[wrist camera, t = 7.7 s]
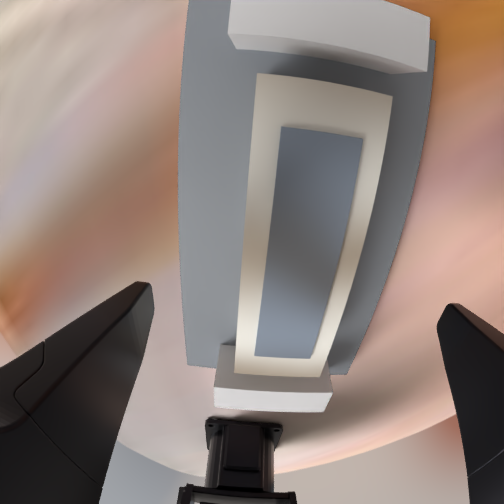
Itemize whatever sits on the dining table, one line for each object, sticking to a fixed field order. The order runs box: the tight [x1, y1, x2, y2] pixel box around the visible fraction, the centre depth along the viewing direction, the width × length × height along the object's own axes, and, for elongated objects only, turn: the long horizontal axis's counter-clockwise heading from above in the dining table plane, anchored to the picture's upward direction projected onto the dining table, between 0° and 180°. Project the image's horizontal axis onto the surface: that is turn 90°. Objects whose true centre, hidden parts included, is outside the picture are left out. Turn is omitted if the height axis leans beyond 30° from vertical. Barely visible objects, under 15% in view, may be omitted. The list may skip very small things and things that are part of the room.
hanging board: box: [178, 0, 436, 412], centre depth 12 cm, size 19×10×4 cm, turn 175°
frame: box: [234, 73, 393, 377], centre depth 11 cm, size 12×4×3 cm, turn 175°
